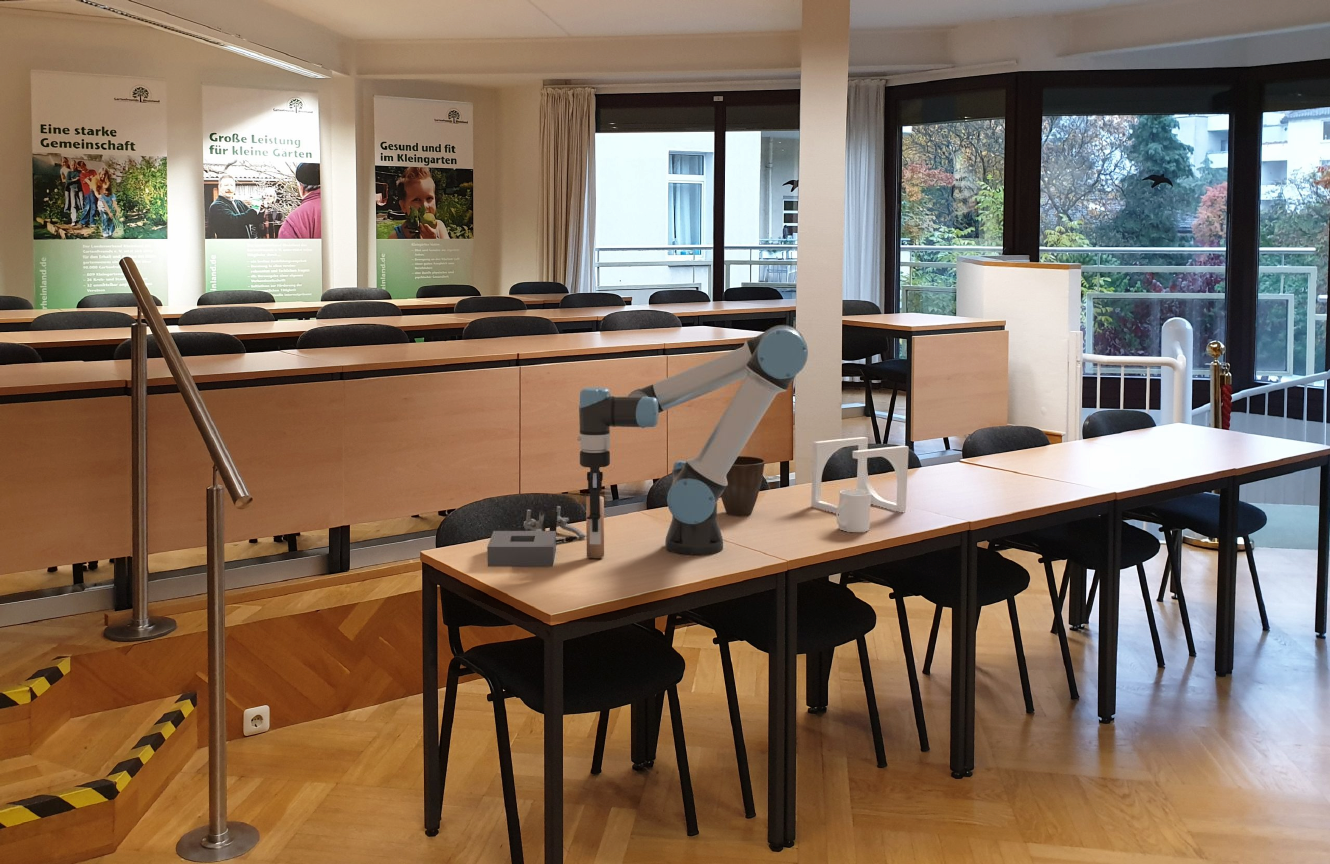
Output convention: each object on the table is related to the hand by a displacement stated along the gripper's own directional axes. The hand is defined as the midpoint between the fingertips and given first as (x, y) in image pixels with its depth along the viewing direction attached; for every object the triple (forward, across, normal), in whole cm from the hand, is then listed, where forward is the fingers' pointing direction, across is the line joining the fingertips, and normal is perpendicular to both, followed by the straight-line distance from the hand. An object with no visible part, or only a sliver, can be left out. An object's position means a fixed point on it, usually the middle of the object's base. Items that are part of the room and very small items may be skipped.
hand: (595, 541), depth 298 cm
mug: (+5, -29, +71) cm, 77 cm away
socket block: (+4, 0, -18) cm, 19 cm away
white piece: (+5, -56, +79) cm, 97 cm away
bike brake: (+5, -20, -10) cm, 23 cm away
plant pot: (+5, -50, +42) cm, 65 cm away
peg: (+4, 0, 0) cm, 4 cm away
